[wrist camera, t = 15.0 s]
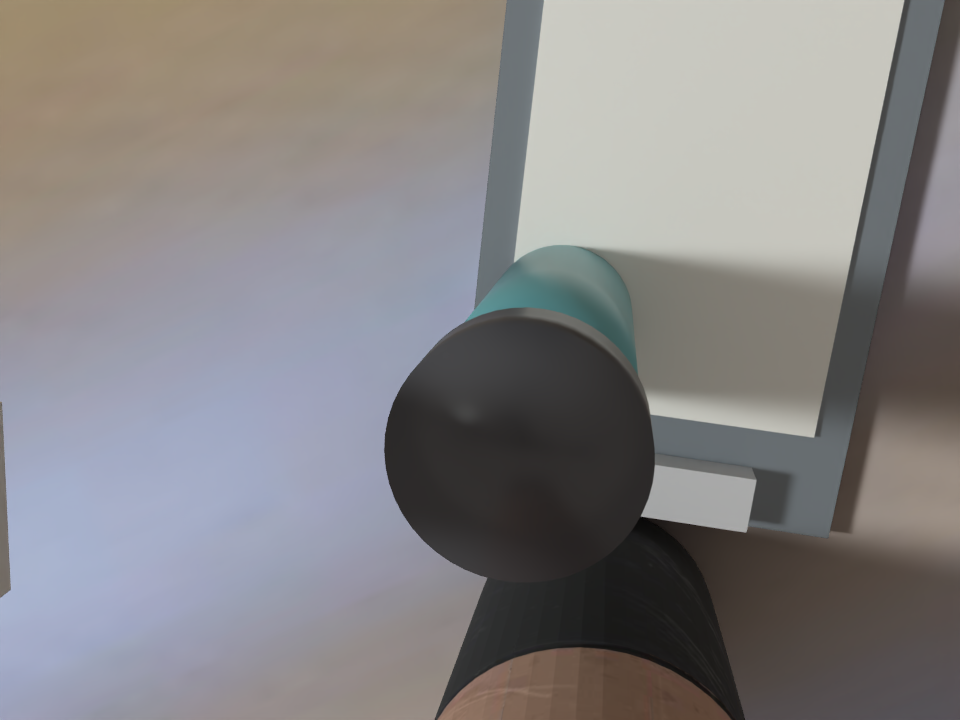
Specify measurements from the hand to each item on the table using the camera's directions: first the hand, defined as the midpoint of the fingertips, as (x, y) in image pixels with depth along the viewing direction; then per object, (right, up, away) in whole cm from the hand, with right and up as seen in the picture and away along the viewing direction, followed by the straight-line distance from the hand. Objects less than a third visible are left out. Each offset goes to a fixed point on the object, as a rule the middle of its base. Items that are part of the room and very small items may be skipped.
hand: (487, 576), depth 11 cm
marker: (+2, +4, +15) cm, 15 cm away
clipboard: (+6, +7, +14) cm, 17 cm away
